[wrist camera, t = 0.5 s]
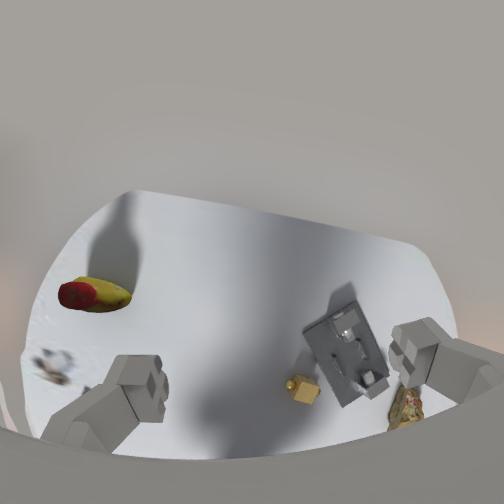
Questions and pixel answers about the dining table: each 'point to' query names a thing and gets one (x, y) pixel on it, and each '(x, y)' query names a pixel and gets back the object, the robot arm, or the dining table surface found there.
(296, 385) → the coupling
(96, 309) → the red yellow oblong piece
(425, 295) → the dining table surface
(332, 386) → the dark grey baseplate
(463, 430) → the robot arm
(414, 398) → the rock
